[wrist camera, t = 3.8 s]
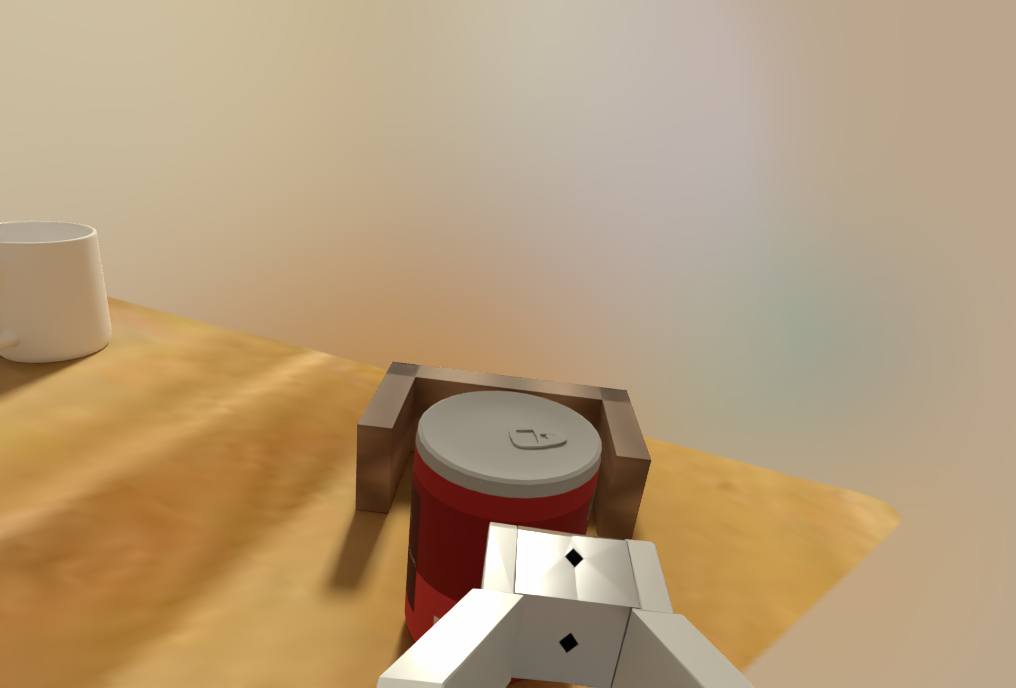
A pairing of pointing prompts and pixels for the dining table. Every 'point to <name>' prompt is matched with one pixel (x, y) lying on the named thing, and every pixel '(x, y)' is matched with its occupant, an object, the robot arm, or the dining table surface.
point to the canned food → (490, 488)
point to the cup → (51, 292)
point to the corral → (418, 387)
